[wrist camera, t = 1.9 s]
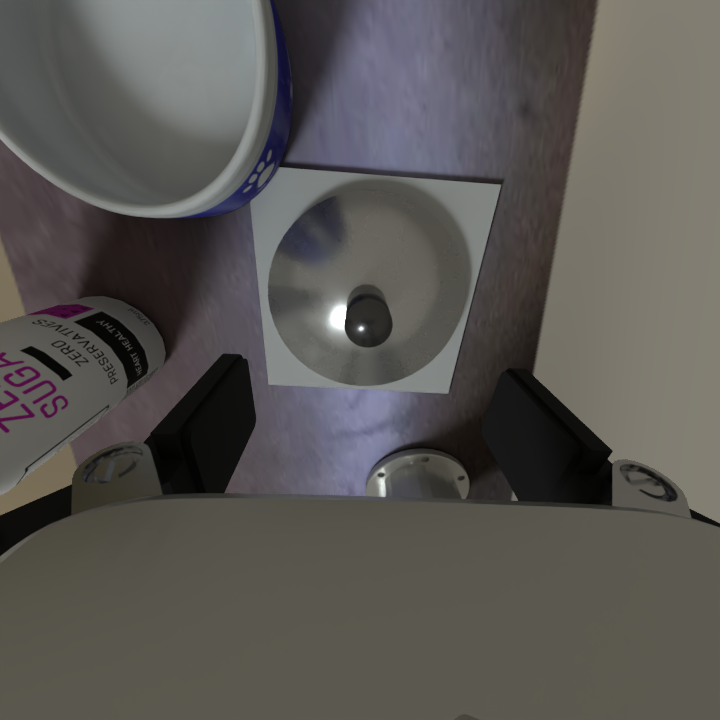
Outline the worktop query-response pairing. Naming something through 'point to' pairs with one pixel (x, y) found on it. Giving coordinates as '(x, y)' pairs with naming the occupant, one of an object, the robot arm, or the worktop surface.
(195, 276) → the worktop surface
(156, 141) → the dog bowl
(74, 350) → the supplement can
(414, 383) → the mat
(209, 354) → the worktop surface
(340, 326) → the lid
